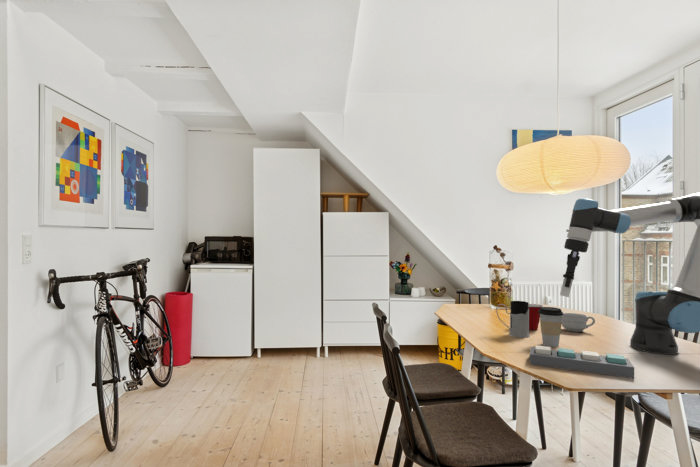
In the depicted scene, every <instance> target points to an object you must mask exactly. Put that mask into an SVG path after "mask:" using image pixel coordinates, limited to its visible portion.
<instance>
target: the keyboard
mask: <svg viewBox="0 0 700 467" xmlns="http://www.w3.org/2000/svg"><path fill="white" fill-rule="evenodd" d="M574 353H575V358H570V357H562V356H558V349H551V355H546V354H537V353H536V347H534V346H533V347H532V346H531V347H530V350H529V365H533V366H538V367H539V366H540V367H547V368H555V369H561V370H569V371H576V372H577V371H578V372H584V373H585V372H586V373H591V374H598V375H606V376H613V377H619V378H620V377H622V378H627V379H628V378H629V379H635V366H634V365H633V364H632V362H631V360H630V359H629V358H627V357H626V358H625V357H624V358H625V359H626V364H618V363H610V362H607V361H606V355H603V354H602V355H600V354H599V356H600V361H594V360H586V359H582V352H575V351H574Z"/></svg>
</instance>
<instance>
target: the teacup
mask: <svg viewBox="0 0 700 467" xmlns="http://www.w3.org/2000/svg"><path fill="white" fill-rule="evenodd" d="M563 314H564V315H562V325H561V327H563V328H564V329H565V331H568V332H573V333H574V332H575V333H580V332H581V333H582V332H583V331H584V330H586V329H588V328H590V327H592V326H593V325H595V323H596V320H595V317H593V316H587V315H586V314H583V313H582V314H581V313H574V312H571V313H570V312H563ZM589 319H591V320H592V322H591V323H589V324H587V322H588V320H589Z"/></svg>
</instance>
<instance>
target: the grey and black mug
mask: <svg viewBox="0 0 700 467" xmlns="http://www.w3.org/2000/svg"><path fill="white" fill-rule="evenodd" d="M529 304H530V303H529V302H528V301H522V300H510V313H509V312H508V309H507V306H506V305H505V304H503V303H499V304H498V305H497V306H496V307H495V308H496V309H495V310H496V311H495V312H496V315H497V318H498V319H499V321H500V322H501V323H502V324H503V325H504V326H506V328H508V330H509V333H508V335H509V336H510V337H512V338H518V337H519V339H527V338H530V337H531V336H530V330H529ZM499 306H503V307H504V308H505V313H506V314H507V315H509V326H508V325H507V324H506V323H505V322H504V321H502V320H501V318H500V316H499V313H498V307H499Z"/></svg>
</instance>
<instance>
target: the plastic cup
mask: <svg viewBox="0 0 700 467" xmlns="http://www.w3.org/2000/svg"><path fill="white" fill-rule="evenodd" d="M541 307H544V304H537V303H529V331H538V329H539V326H540V325H539V324H540V314H539V313H538V310H540V308H541Z"/></svg>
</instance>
